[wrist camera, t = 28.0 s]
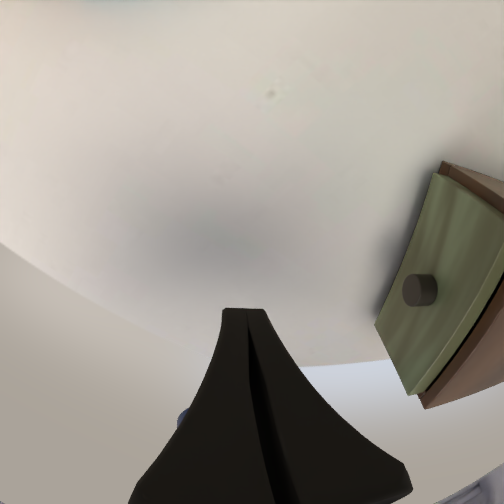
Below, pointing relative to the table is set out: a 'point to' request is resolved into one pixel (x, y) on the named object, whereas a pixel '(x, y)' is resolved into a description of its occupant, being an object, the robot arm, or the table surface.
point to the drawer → (441, 282)
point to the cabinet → (488, 328)
